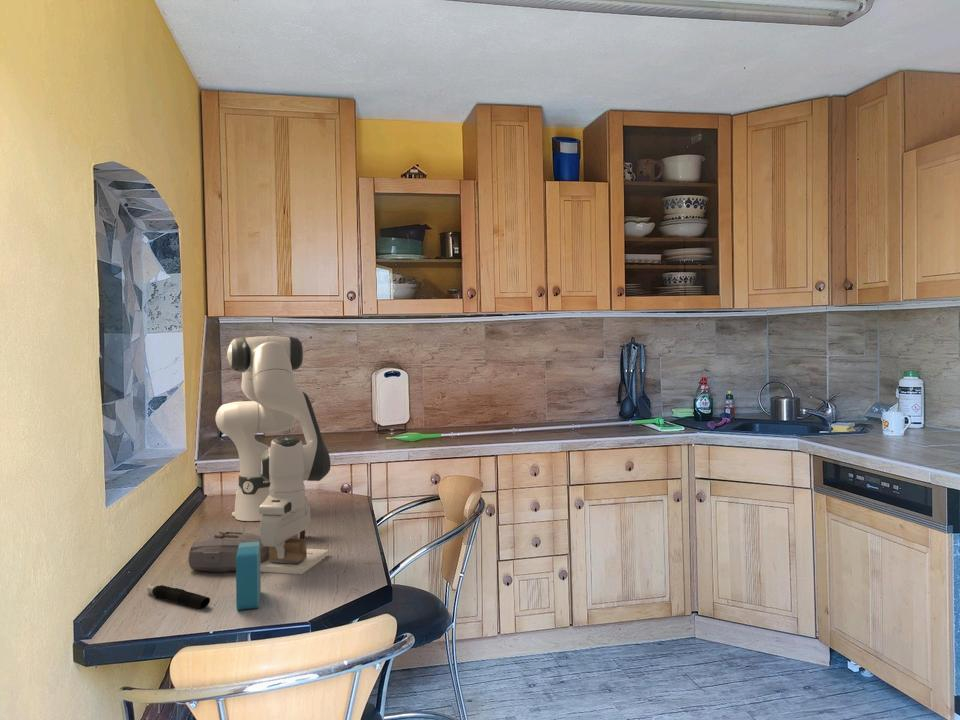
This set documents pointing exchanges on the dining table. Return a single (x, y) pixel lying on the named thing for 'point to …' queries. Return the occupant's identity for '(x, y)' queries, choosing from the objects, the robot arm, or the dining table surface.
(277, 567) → the board
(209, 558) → the grey rounded bag
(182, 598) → the utility knife
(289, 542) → the block
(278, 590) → the dining table surface
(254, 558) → the teal arch block
